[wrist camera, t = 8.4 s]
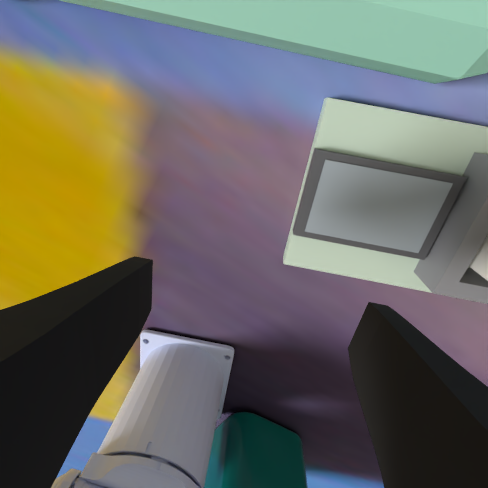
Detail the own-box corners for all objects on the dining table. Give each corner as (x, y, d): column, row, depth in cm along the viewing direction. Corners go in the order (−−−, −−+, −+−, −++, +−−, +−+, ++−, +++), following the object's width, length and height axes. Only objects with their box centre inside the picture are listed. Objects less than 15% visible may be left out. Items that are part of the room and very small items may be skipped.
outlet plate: (538, 306, 19) (588, 342, 16) (283, 256, 19) (285, 283, 16) (654, 159, 15) (753, 171, 12) (324, 98, 15) (337, 94, 12)
